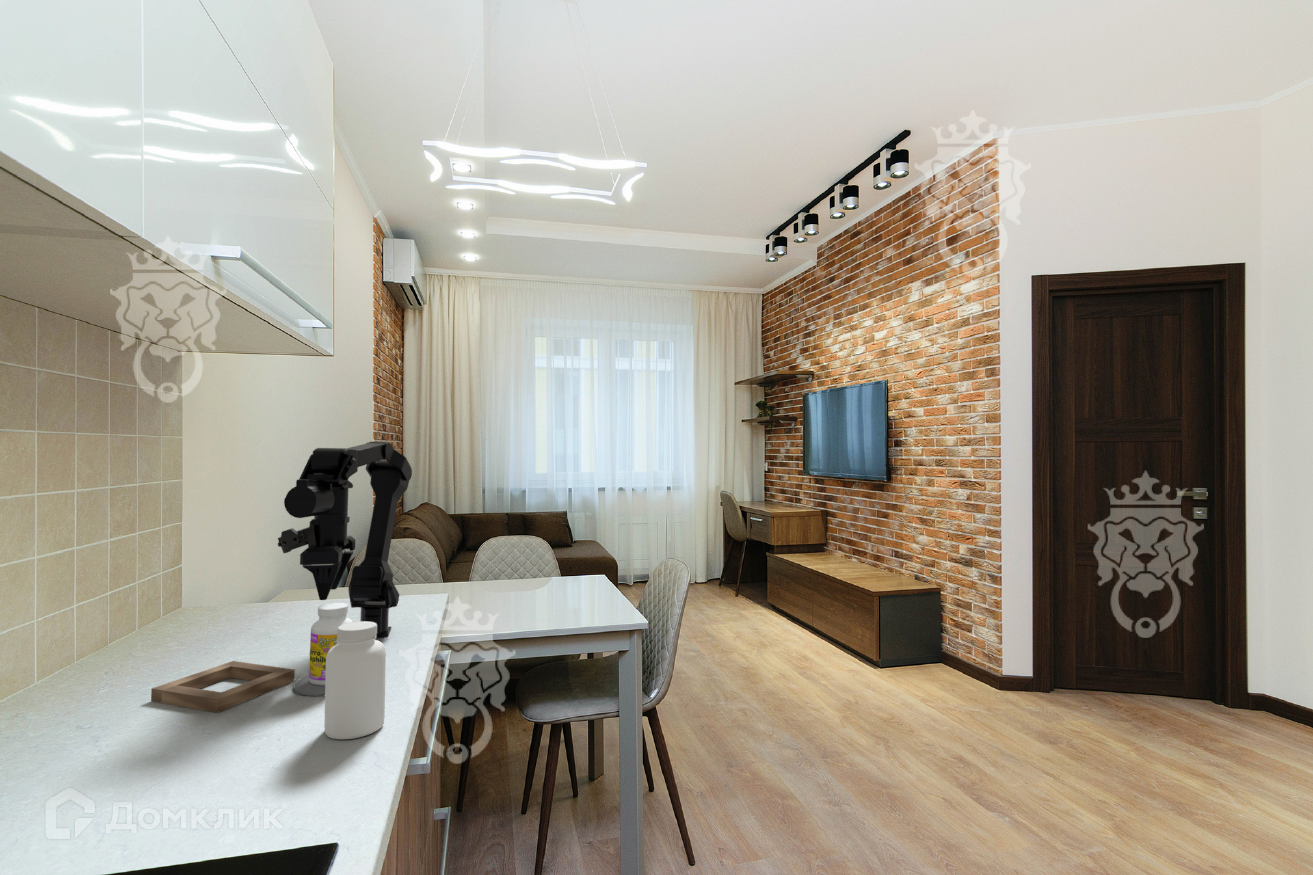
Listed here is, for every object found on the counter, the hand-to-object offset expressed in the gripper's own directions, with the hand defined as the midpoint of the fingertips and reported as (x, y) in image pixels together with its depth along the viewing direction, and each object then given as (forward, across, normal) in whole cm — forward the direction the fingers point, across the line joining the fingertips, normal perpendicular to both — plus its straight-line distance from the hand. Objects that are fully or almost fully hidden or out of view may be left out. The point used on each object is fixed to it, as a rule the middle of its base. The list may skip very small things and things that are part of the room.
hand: (328, 594), depth 118 cm
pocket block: (+13, +11, -13) cm, 21 cm away
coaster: (+13, +12, +3) cm, 18 cm away
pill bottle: (+13, +32, +10) cm, 36 cm away
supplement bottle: (+13, +12, +3) cm, 18 cm away
